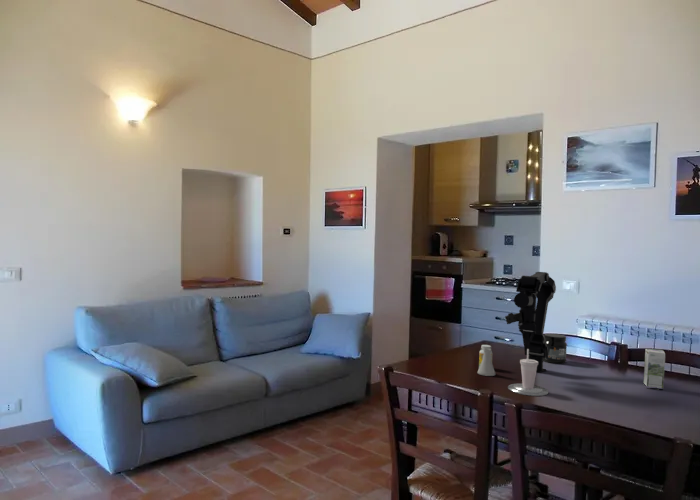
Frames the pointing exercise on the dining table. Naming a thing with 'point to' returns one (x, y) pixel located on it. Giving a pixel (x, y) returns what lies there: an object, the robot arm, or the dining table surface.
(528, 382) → the smoothie
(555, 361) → the supplement container
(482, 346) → the supplement bottle
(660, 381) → the syrup box
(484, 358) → the flask
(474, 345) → the dining table surface
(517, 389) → the grey stepped round plate
